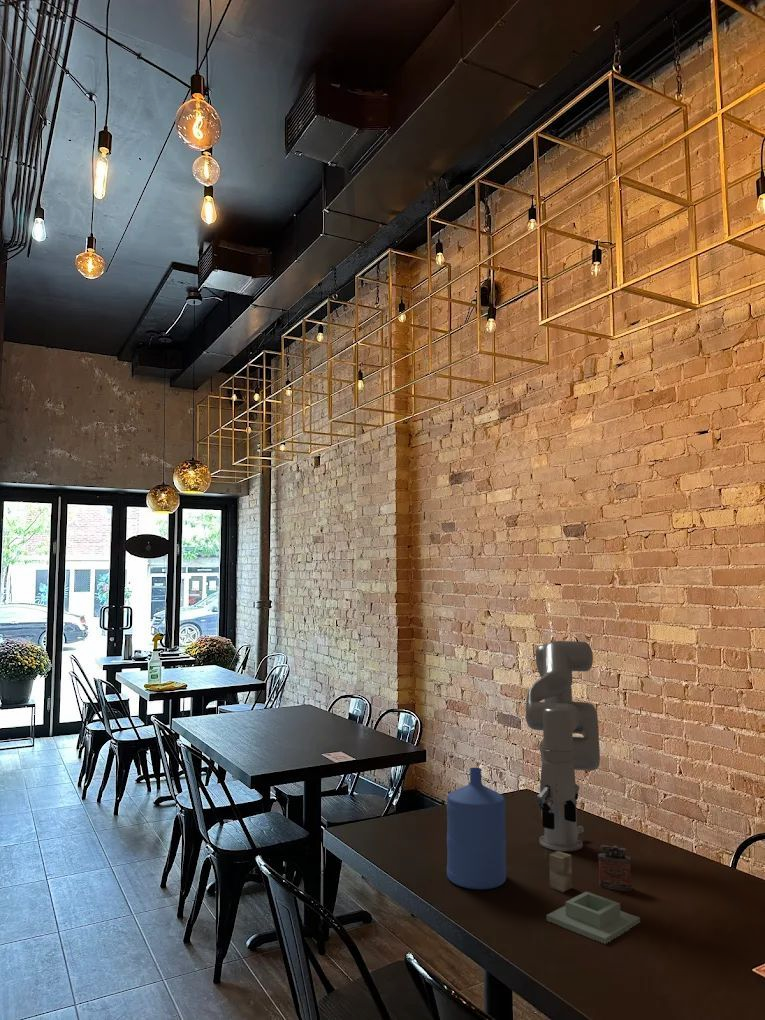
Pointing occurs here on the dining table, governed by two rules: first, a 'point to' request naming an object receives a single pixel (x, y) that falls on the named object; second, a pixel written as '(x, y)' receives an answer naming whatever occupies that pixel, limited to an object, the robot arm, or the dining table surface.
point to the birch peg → (560, 871)
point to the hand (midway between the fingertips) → (559, 824)
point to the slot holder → (593, 917)
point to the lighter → (614, 868)
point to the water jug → (476, 835)
